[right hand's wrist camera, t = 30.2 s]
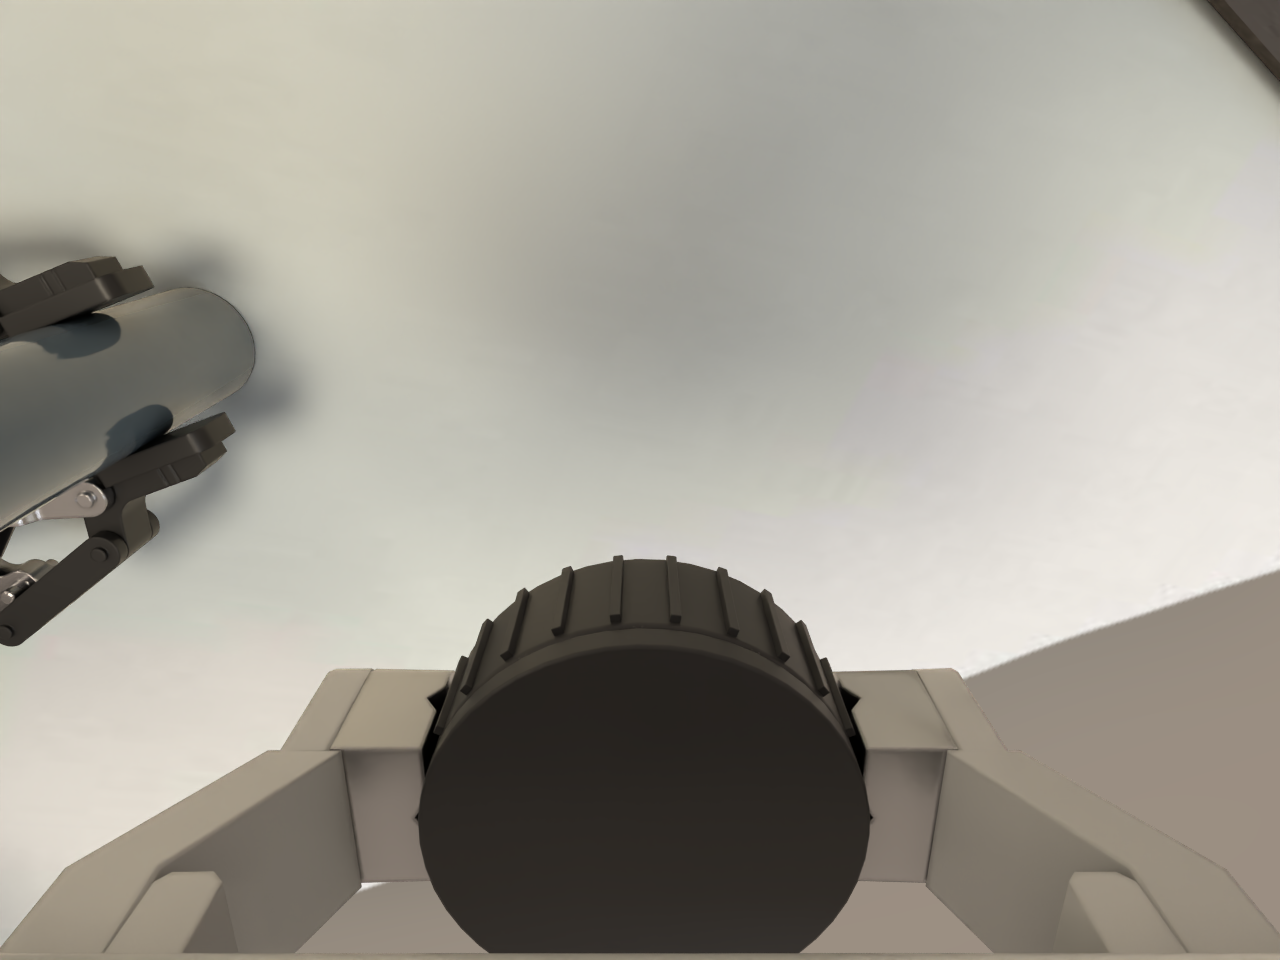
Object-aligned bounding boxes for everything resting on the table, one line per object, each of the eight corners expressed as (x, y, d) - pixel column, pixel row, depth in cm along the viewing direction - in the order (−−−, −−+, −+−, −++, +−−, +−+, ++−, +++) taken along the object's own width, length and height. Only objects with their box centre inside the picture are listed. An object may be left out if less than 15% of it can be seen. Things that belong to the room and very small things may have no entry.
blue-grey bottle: (209, 421, 33) (-241, 704, 16) (117, 342, 32) (-472, 556, 15) (278, 347, 32) (-127, 567, 15) (185, 262, 31) (-366, 396, 14)
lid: (649, 929, 12) (651, 1069, 10) (369, 731, 10) (315, 848, 9) (918, 720, 10) (975, 835, 9) (635, 468, 9) (634, 542, 7)
